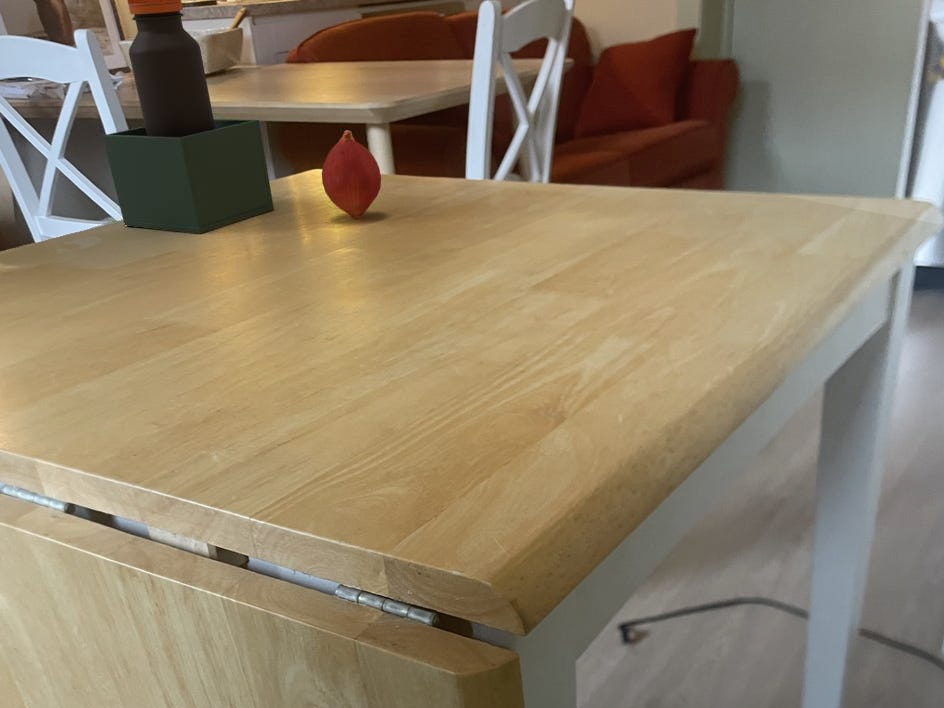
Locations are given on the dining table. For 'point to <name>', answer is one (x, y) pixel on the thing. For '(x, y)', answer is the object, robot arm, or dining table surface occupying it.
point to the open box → (190, 177)
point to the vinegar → (168, 71)
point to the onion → (351, 176)
